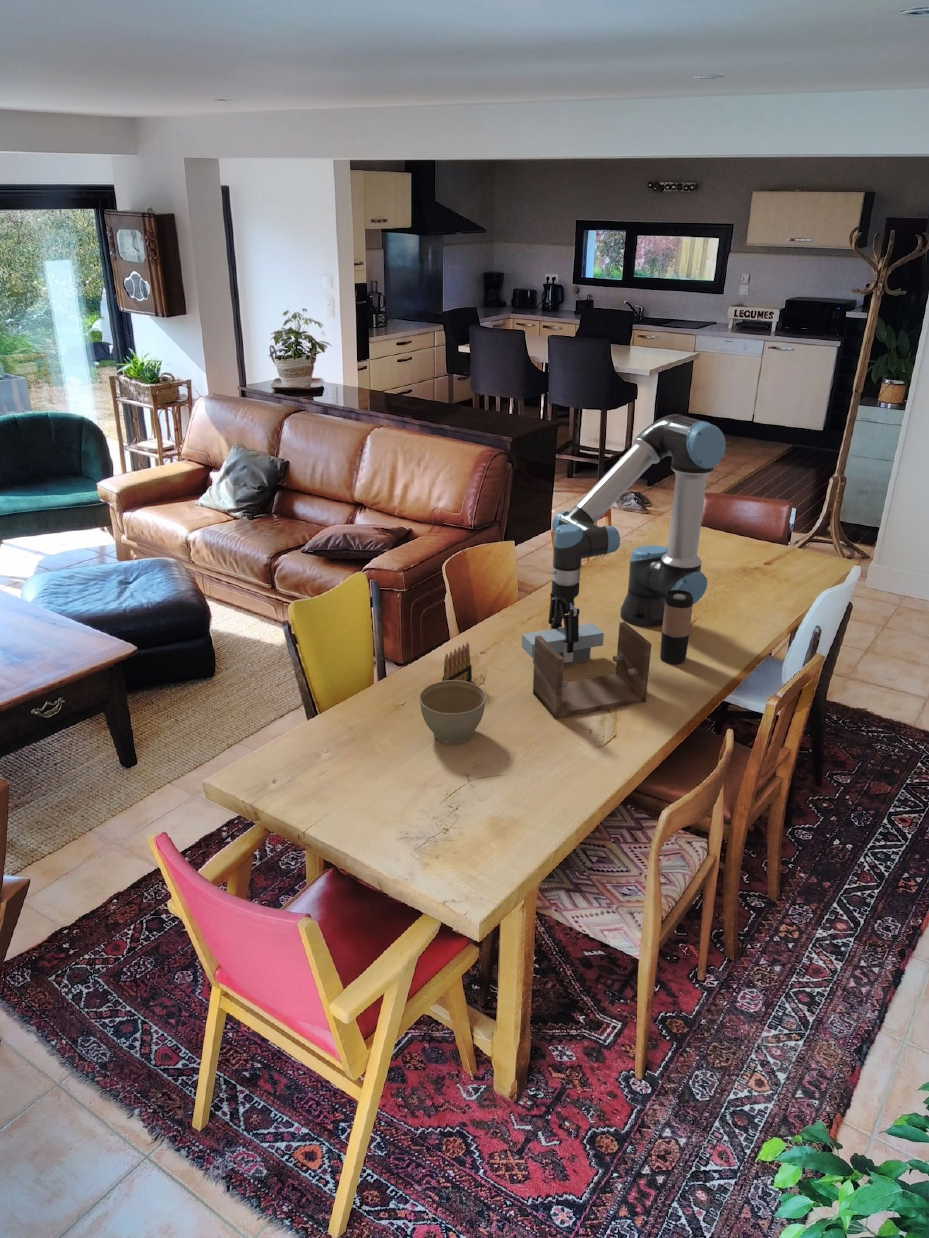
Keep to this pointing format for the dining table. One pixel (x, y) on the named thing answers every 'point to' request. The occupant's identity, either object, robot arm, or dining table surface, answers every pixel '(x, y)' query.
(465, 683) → the planter bowl
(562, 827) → the dining table surface
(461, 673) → the ammunition clip
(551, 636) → the shelf board
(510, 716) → the dining table surface
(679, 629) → the travel mug
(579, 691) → the shelf frame
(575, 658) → the grey rectangular block
